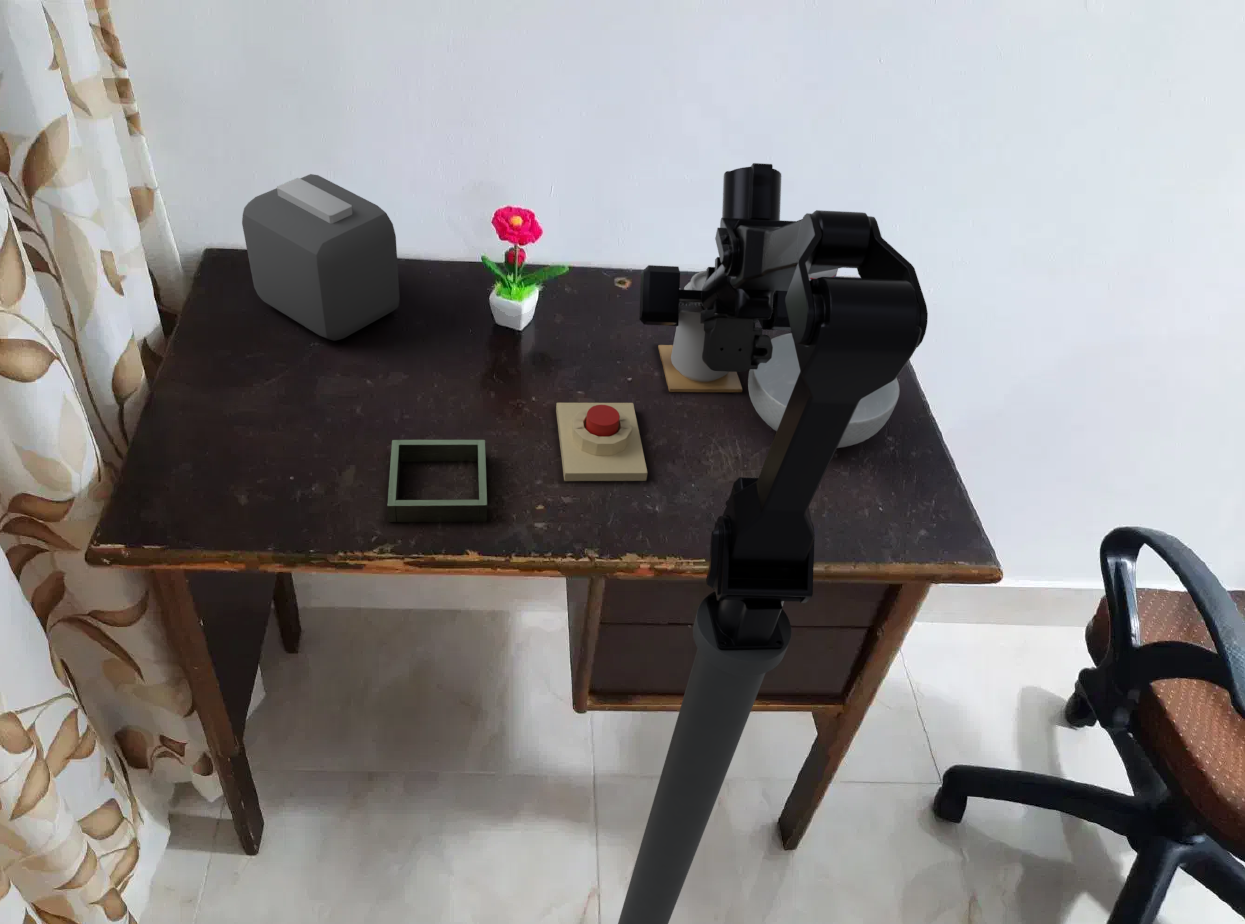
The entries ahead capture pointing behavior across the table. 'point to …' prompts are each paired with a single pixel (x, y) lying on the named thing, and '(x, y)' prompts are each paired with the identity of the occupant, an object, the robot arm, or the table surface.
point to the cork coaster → (685, 384)
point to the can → (692, 341)
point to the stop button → (602, 420)
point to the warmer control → (600, 446)
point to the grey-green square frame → (437, 508)
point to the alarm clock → (322, 256)
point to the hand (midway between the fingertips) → (707, 313)
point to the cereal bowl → (777, 383)
